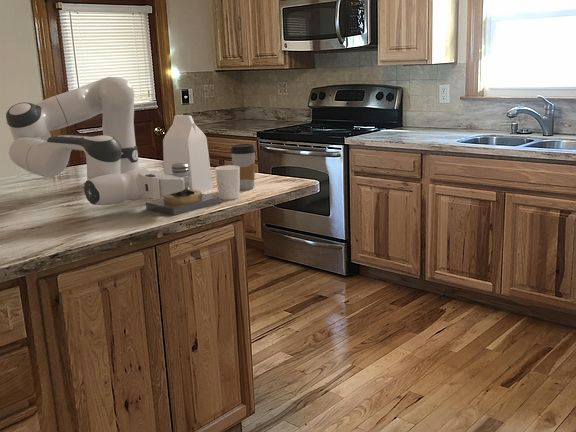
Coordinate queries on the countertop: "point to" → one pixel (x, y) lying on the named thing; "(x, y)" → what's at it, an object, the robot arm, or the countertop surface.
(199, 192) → the ring block
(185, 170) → the salt shaker
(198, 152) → the milk
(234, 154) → the coffee cup
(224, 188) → the white cup
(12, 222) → the countertop surface
